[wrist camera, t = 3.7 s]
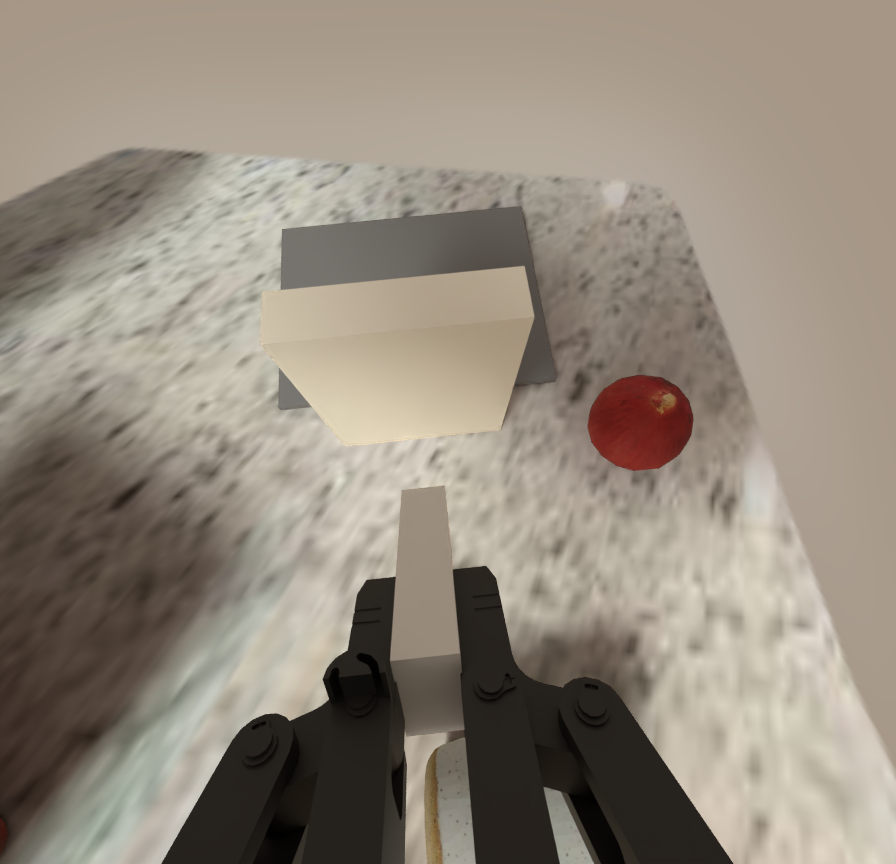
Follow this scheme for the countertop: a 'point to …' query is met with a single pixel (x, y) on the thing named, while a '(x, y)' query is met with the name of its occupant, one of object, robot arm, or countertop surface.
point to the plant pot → (2, 835)
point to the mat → (415, 265)
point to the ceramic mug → (453, 814)
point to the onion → (640, 422)
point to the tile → (403, 351)
